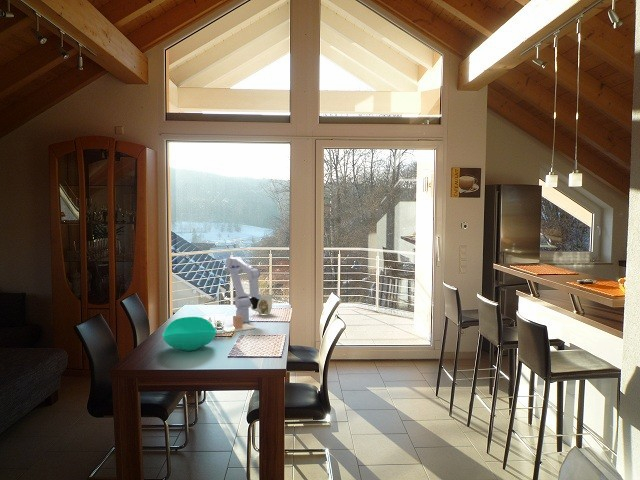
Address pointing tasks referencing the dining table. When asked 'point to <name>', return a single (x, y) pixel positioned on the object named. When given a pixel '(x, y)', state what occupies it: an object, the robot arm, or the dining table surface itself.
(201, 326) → the table top decor
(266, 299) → the pitcher
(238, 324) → the block
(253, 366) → the dining table surface
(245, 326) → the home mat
